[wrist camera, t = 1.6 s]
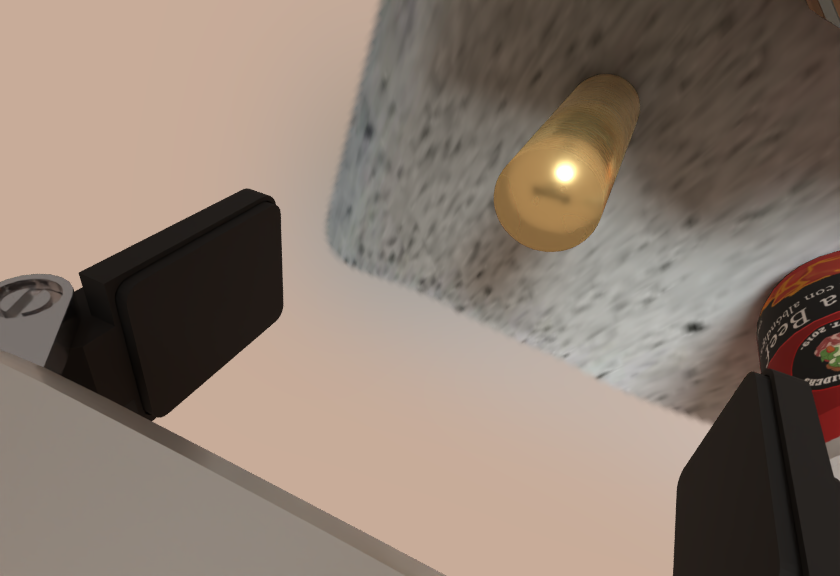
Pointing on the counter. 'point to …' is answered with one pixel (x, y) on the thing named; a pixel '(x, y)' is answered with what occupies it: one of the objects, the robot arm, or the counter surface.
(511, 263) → the counter surface
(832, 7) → the hinge leaf swing
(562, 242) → the hinge pin
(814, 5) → the hinge leaf fixed
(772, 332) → the canned food
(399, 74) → the counter surface
